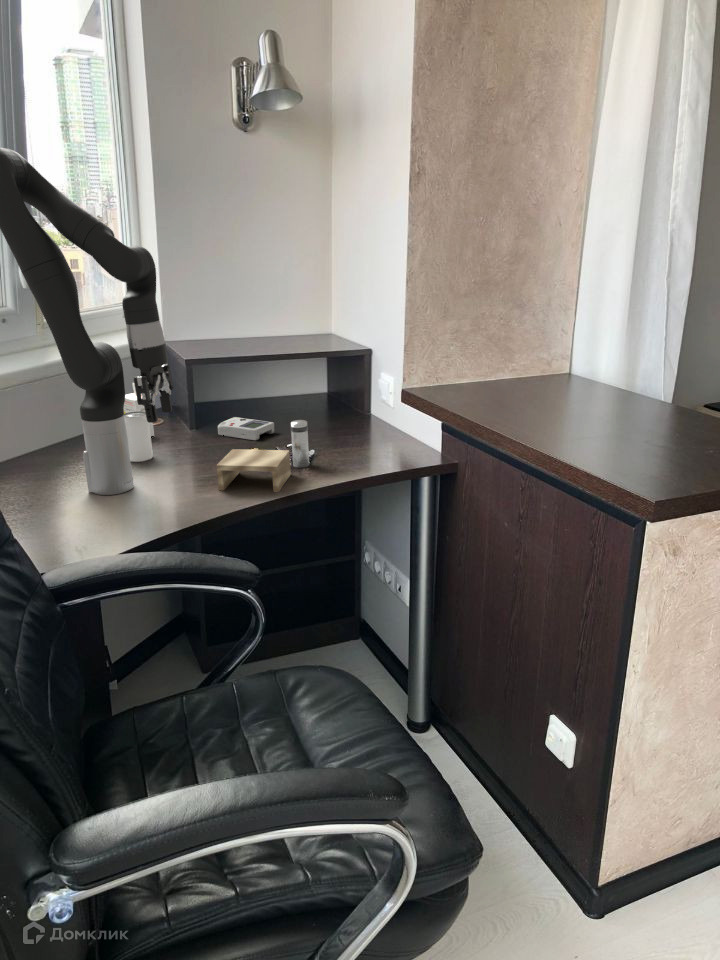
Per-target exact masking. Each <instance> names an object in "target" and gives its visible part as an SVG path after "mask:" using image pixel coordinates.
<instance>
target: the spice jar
mask: <svg viewBox="0 0 720 960" xmlns="http://www.w3.org/2000/svg"><path fill="white" fill-rule="evenodd" d="M308 430H309V429H308V421H307V420H304V419H297V420H292V421H290V434H291V452H292V466H293V467H294V468H297V469H298V468H300V469H301V468H306V467H309V466H310V456H309V454H310V451H309V433H308Z"/></svg>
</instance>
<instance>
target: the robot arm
mask: <svg viewBox="0 0 720 960" xmlns="http://www.w3.org/2000/svg"><path fill="white" fill-rule="evenodd" d="M26 204H28V205H29V206H30V207H33V208H34V209H36V210H37V211H38V212H40V214H42V215H43V216H44V217H45V218H46V219H47V220H48V221H49V222H50V223H51V224H52V226H53V227H54V228H55V229H56V230H57V232H58V233H60V235H61V236H63V237H64V238H65V239H66V240H68V241H69V242H71V243H72V244H73V245H75V246H76V247H78V248H79V249H80V250H82V251H83V252H85V253H86V254H88V255H89V256H90V257H92V258H93V260H94V261H95V262H96V263H97V264H98V265H99V266H100V267H101V268H102V269H103V270H104V271H105V272H106V273H107V274H109V275H110V276H111V277H112V278H114V279H116V280H118V281H120V282H123V283H124V284H126V295H125V296H124V297H123V298H122V302H121V303H122V311H123V315H124V317H123V318H124V322H125V325H126V326H125V327H126V338H127V344H128V349H129V354H130V360H131V364H132V367H133V368H135V369H138V370H139V371H140V375H138V376H134V377H133V383H134V384H135V390H136V396H137V402H138V405H143V406H144V408H145V413H146V418H147V422H149V423H152V422H153V423H157V422H158V420H159V419H158V414H157V408H156V407H157V406H156V404H155V403H156V397H157V396H158V395H159V401H160V406H161V411H162V412H163V413H171V412H172V411H173V406H172V400H171V399H172V398H171V395H172V391H174V389H175V388H174V383H173V377H172V374H171V369H170V365H169V364H168V362H169V359H168V353H167V347H166V342H165V336H164V335H165V334H164V331H163V327H162V324H161V321H160V315H159V310H158V309H159V308H158V304H157V300H156V298H157V271H156V270H157V268H156V263H155V260H154V257H153V256H152V254H151V252H150V251H149V250H148V249H147V248H145V247H143V246H140V245H131V246H128V245H126V244H124V243H122V241H120V240H119V239H118V238H116V236H115V233H114V231H113V230H112V228H110V227H109V226H108V225H106V224H105V223H104V222H102V221H101V220H100V219H98V218H97V217H96V216H94V215H93V214H91V213H89V212H88V211H87V210H86V209H84V208H82V207H81V206H79V205H78V204H77V203H75V202H74V201H73V200H72V199H70V198H69V197H68V196H66V195H65V194H64V193H62V192H61V191H60V190H59V189H58V188H57V187H56V186H54V185H53V184H52V183H51V182H50V181H49V180H48V179H47V178H45V177H44V175H42V174H41V173H40V172H39V171H38V170H37V168H35V167H34V166H33V165H32V164H31V163H30V162H29V161H28V160H27V159H26V158H24V157H23V156H22V155H21V154H20V153H19V152H17V151H16V150H12V149H11V148H6V147H0V232H1V233H2V235H3V237H4V239H5V242H6V243H7V245H8V247H9V249H10V250H11V253H12V254H13V256H14V259H15V260H16V263H17V264H18V268H19V269H20V271H21V272H20V273H21V274H22V276H23V278H24V280H25V282H26V284H27V285H28V288H29V290H30V292H31V294H32V295H33V297H34V299H35V301H36V303H37V305H38V307H39V310H40V312H41V313H42V316H43V317H44V318H43V319H44V320H45V322H46V323H47V326H48V328H49V330H50V332H51V335H52V337H53V340H54V342H55V344H56V347H57V349H58V353H59V355H60V357H61V361H62V363H63V366H64V369H65V370H66V373H67V375H68V377H69V379H70V380H71V381H72V382H73V384H74V385H76V386H77V387H78V388H80V389H82V390H84V391H85V395H84V398H83V400H82V402H81V404H80V407H79V412H80V420H81V427H82V432H83V438H84V445H85V450H84V451H82V457H83V459H82V460H83V465H84V471H85V477H86V484H87V485H86V486H87V491H88V493H93V494H95V495H100V496H110V495H111V496H112V495H119V494H123V493H126V492H128V491H131V490H132V489H133V488H134V487H135V485H134V476H133V469H132V462H131V460H130V453H129V445H128V438H127V431H126V423H125V416H124V403H125V395H126V388H125V377H124V376H125V375H124V368H123V363H122V362H123V361H122V358H121V356H120V354H119V352H118V351H117V350H116V348H115V347H114V346H112V345H111V344H108V343H106V342H102V341H101V342H97V341H96V342H93V341H92V340H91V338H90V336H89V334H88V333H87V329H86V327H85V325H84V323H83V320H82V316H81V311H80V302H79V292H78V291H79V290H78V286H77V282H76V279H75V276H74V274H73V271H72V269H71V267H70V265H69V263H68V260H67V259H66V257H65V255H64V253H63V251H62V249H61V248H60V247H59V245H58V244H57V243H56V241H55V240H54V239H53V238H52V236H50V235H49V233H47V231H46V230H45V229H44V228H43V227H42V226H41V225H40V223H38V221H37V220H36V219H35V218H34V216H33V215H32V214H31V212H30V211H29V209H28V207H27V206H26ZM141 394H142V398H141Z"/></svg>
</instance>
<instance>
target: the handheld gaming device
mask: <svg viewBox="0 0 720 960" xmlns="http://www.w3.org/2000/svg"><path fill="white" fill-rule="evenodd" d="M274 433H275V422H273V421H265V420H258V419H250V418H243V417H237V416H233V417H231V418H229V419H227V420H224V421H222V422H220V423H219V424H218V425H217V434H218V435H219V436H223V435H224V437H229V438H230V437H231V438H239V439H243V440H249V441H251V440H252V441H258V440H259V439H260V436H261V435H263V434H268V435H271V434H274Z"/></svg>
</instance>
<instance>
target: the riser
mask: <svg viewBox="0 0 720 960" xmlns="http://www.w3.org/2000/svg"><path fill="white" fill-rule="evenodd" d="M290 454H291V453H290V450H289V449H288V450H287V449H285V450H284V449H244V448H243V449H241V448H240V449H239V448H238V449H236V448H235V449H234V448H232V449H230V451H229V452H228V453H227V454H226V455H225V456H224V457H223V458H222V459H221V460H220V461H219V462H218V463H217V464H216V474H217V475H216V477H217V486H218V491H225V490H226V489H227V488H228V487H229V485H230V484H231V483H232V481H234V479H235V478H236V477H237V476H238V475H239V474H240V472H271V474H272V490H273V492H274V493H280V491H281V490H282V488H283V486H284V485H285V484H286V482H287V480H288V479H289V478H290V476H291V474H292V471H291V455H290Z"/></svg>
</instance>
